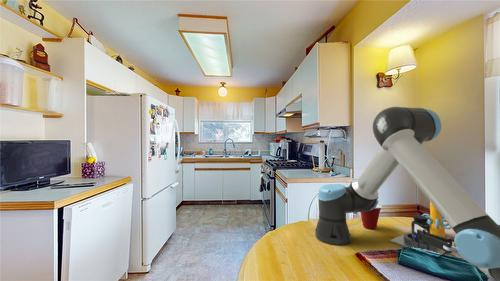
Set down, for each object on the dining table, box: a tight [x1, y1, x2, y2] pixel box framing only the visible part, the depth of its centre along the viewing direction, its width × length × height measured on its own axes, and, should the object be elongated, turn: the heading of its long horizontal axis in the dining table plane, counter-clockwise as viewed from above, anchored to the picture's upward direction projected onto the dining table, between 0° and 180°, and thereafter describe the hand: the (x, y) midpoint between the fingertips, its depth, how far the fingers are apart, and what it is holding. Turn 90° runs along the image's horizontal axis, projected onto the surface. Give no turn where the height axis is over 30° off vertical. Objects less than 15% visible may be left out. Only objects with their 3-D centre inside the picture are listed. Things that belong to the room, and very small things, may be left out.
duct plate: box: [389, 232, 446, 254], centre depth 90 cm, size 16×16×3 cm
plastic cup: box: [359, 203, 383, 231], centre depth 108 cm, size 11×11×12 cm
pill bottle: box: [410, 214, 430, 243], centre depth 90 cm, size 6×6×11 cm
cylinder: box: [421, 201, 452, 238], centre depth 99 cm, size 12×10×15 cm
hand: (435, 229), depth 80 cm, fingers open, 13 cm apart
